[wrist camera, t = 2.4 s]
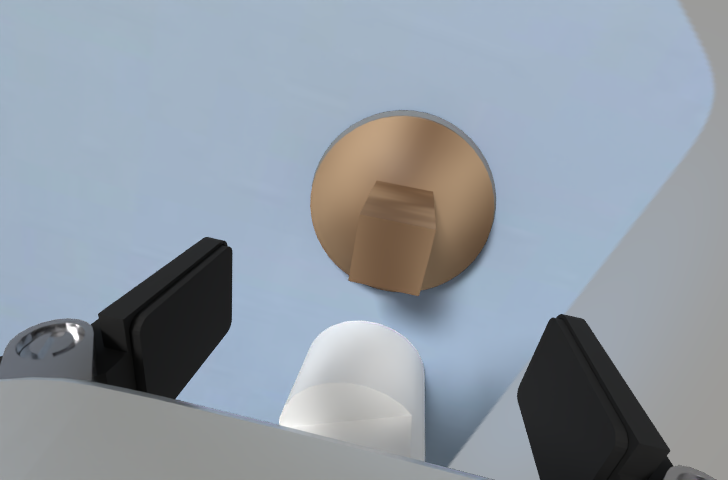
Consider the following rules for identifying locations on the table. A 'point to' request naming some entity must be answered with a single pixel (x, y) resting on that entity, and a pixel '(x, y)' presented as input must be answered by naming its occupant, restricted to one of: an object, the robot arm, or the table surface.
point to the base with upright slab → (361, 390)
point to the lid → (402, 204)
